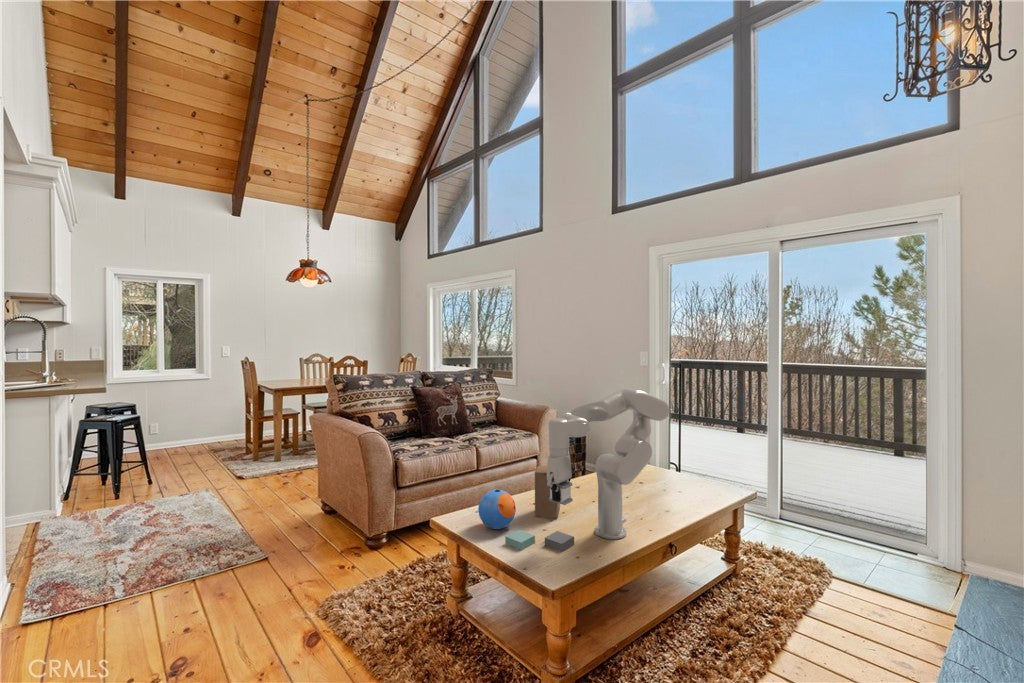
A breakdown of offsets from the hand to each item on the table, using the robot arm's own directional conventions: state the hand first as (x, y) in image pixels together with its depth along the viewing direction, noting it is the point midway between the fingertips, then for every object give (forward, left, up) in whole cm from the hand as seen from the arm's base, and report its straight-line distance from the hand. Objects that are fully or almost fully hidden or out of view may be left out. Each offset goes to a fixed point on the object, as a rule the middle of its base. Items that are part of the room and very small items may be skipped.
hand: (560, 498), depth 178 cm
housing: (0, 0, -1) cm, 1 cm away
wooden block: (-20, -22, -18) cm, 35 cm away
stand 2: (+1, 0, -18) cm, 18 cm away
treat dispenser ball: (+5, -29, -18) cm, 35 cm away
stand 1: (+10, -12, -18) cm, 24 cm away
